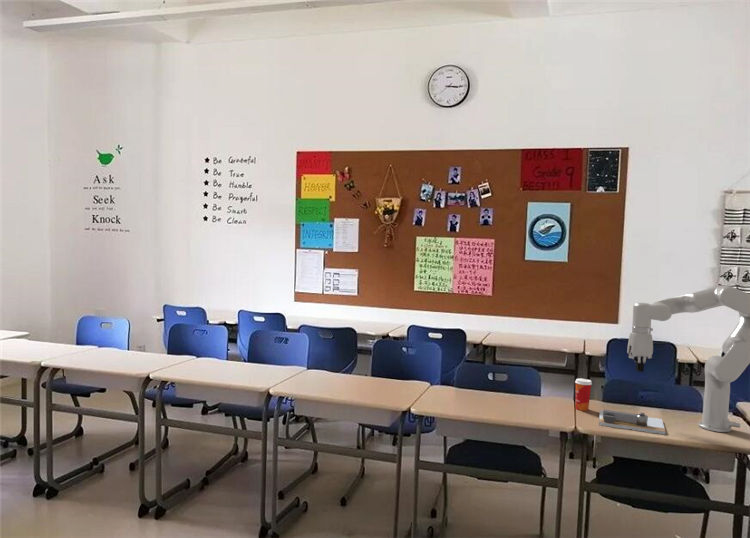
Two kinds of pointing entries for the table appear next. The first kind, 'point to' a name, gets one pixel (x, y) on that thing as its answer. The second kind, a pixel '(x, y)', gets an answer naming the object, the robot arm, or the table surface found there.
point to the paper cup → (583, 394)
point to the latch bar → (627, 417)
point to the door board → (652, 424)
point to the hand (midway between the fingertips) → (639, 371)
